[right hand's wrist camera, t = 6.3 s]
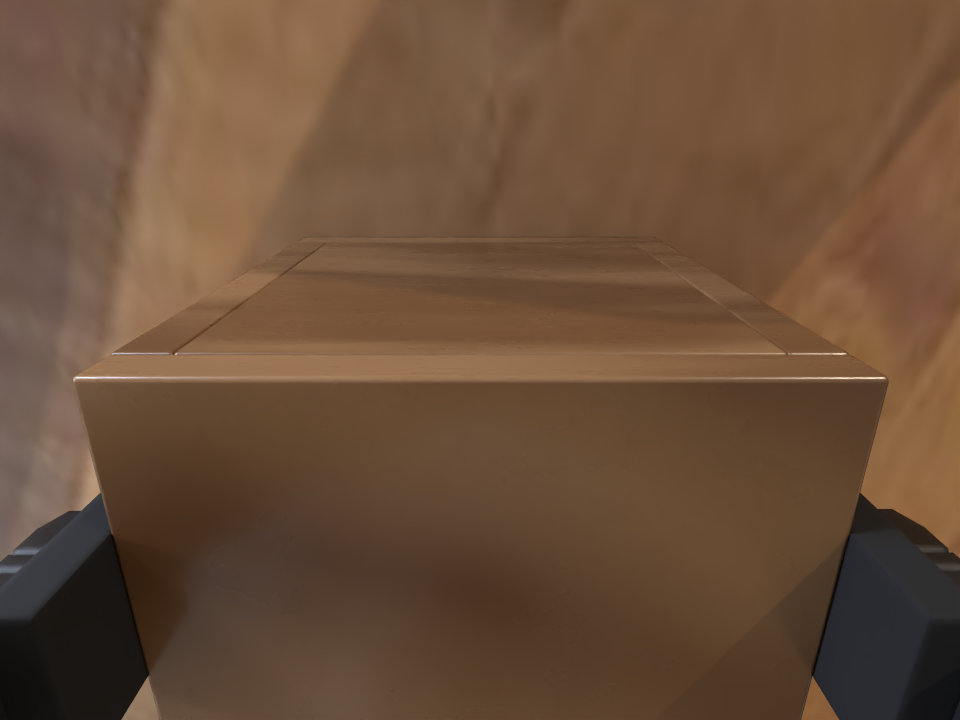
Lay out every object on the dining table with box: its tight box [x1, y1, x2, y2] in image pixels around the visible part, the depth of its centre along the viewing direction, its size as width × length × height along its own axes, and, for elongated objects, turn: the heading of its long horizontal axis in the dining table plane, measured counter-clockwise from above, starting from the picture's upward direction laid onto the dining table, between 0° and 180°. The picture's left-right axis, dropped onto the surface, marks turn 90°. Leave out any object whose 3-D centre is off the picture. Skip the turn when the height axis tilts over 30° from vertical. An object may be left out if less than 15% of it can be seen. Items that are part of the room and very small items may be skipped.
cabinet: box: [72, 237, 888, 720], centre depth 17 cm, size 22×10×11 cm, turn 0°
